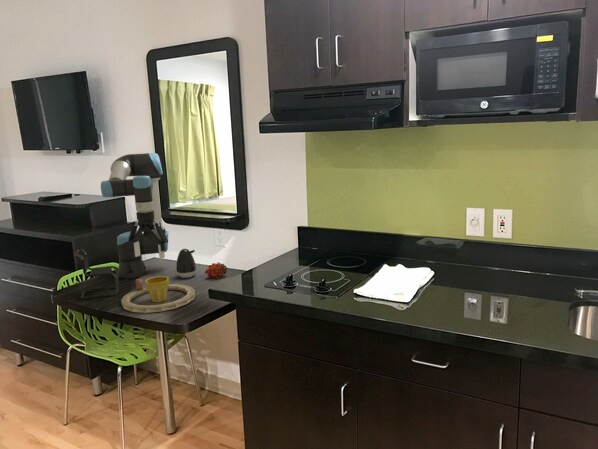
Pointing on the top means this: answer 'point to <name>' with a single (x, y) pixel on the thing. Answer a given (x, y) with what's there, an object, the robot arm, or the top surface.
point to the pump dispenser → (185, 264)
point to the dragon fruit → (216, 270)
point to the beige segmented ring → (156, 308)
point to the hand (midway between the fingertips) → (149, 257)
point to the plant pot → (157, 288)
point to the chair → (97, 274)
